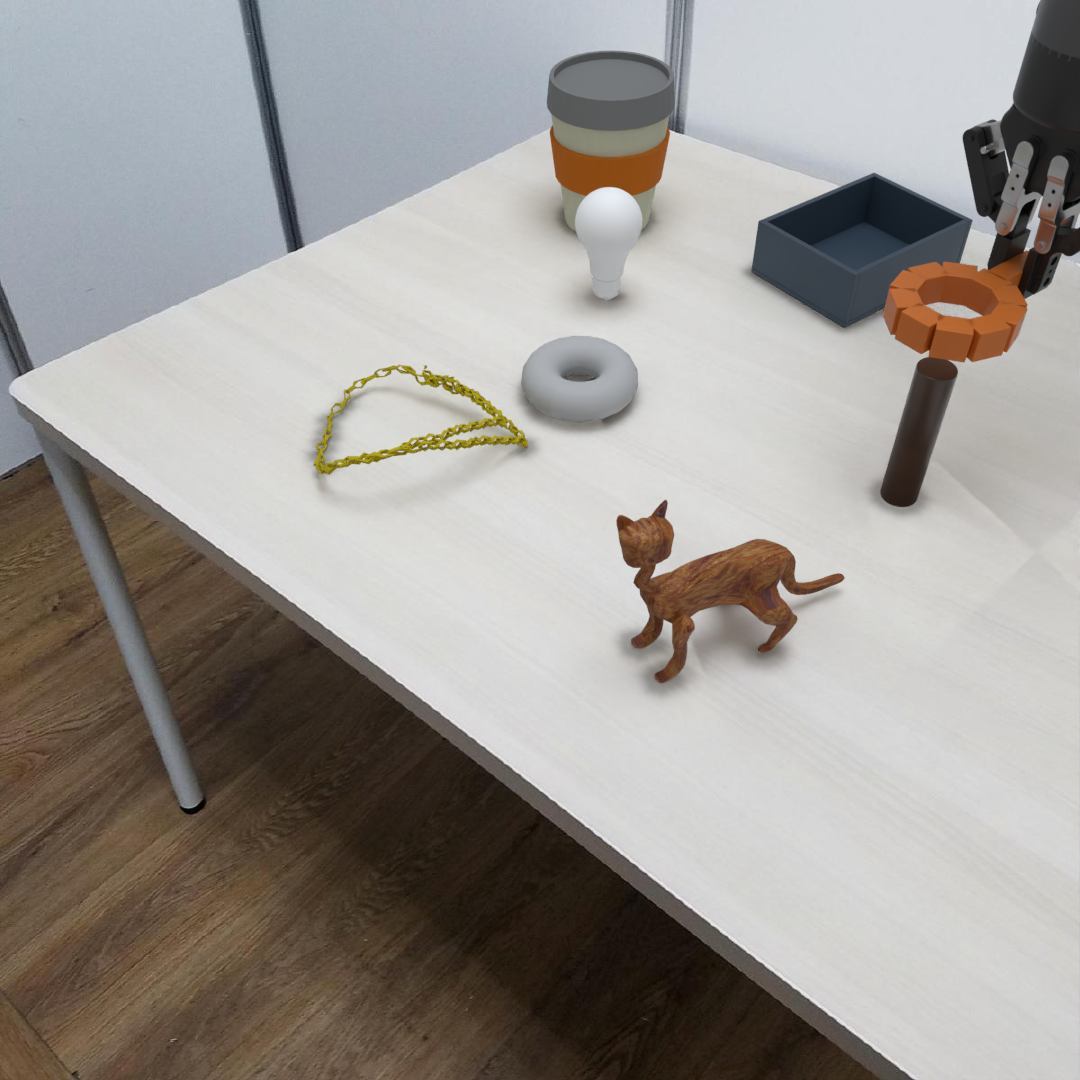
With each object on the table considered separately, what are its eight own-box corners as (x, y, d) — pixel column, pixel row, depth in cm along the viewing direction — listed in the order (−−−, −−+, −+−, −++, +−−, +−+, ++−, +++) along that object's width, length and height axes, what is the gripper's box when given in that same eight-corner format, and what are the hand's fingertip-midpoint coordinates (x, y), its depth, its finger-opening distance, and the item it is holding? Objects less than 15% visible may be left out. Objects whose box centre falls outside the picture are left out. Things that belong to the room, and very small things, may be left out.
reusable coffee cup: (523, 217, 114) (519, 74, 103) (606, 178, 120) (610, 39, 109) (607, 261, 107) (612, 114, 96) (690, 218, 113) (704, 74, 102)
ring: (961, 378, 69) (971, 350, 67) (856, 317, 74) (863, 289, 72) (1081, 309, 74) (1092, 281, 72) (975, 256, 79) (983, 229, 77)
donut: (644, 367, 95) (534, 353, 96) (647, 335, 92) (534, 321, 94) (628, 438, 88) (509, 422, 89) (630, 405, 85) (509, 389, 87)
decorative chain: (532, 445, 87) (532, 396, 84) (398, 530, 79) (392, 479, 76) (396, 381, 96) (391, 334, 93) (261, 451, 87) (252, 402, 84)
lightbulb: (561, 303, 102) (561, 195, 94) (596, 274, 105) (599, 168, 98) (616, 323, 99) (620, 214, 92) (649, 293, 103) (657, 186, 95)
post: (907, 480, 84) (946, 353, 75) (923, 504, 82) (965, 377, 73) (873, 486, 83) (909, 359, 75) (889, 510, 81) (927, 382, 73)
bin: (863, 221, 112) (874, 172, 108) (957, 271, 105) (973, 219, 101) (751, 271, 105) (758, 220, 102) (843, 327, 98) (855, 275, 95)
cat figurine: (814, 557, 78) (850, 409, 68) (869, 620, 74) (916, 470, 64) (593, 639, 73) (597, 490, 63) (638, 710, 68) (651, 563, 59)
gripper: (1246, 50, 61) (1132, 311, 73) (1040, -14, 69) (968, 231, 81) (1172, 85, 58) (1066, 350, 70) (964, 14, 66) (902, 263, 78)
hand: (1014, 285), depth 75 cm, fingers closed on ring, 1 cm apart
